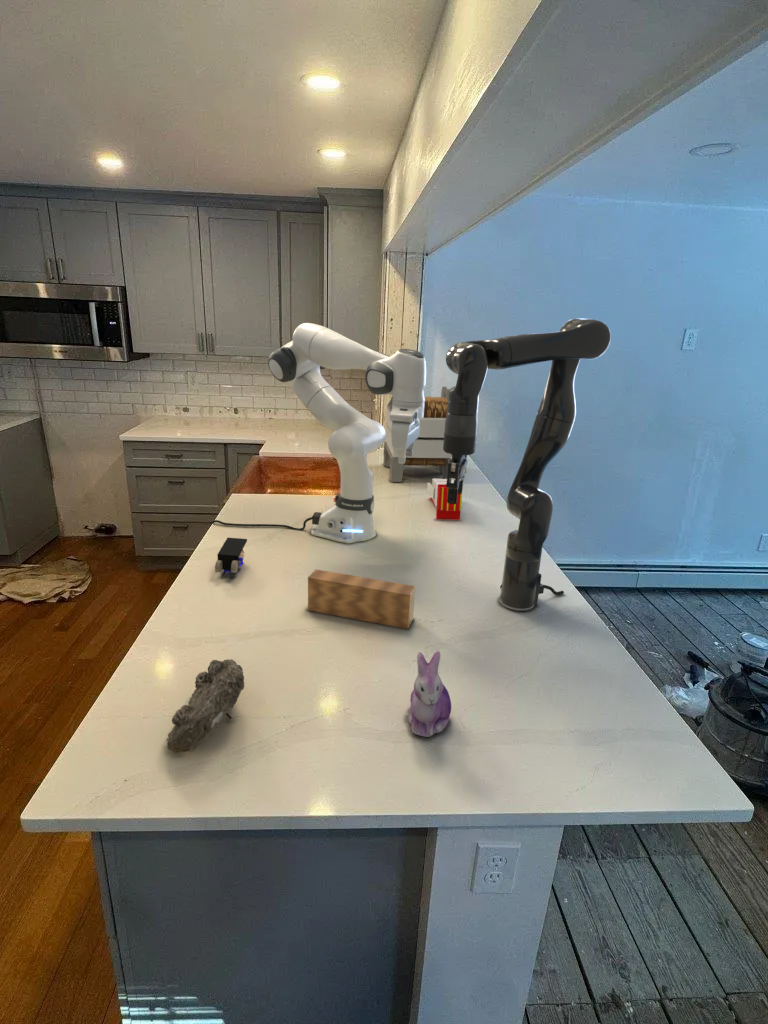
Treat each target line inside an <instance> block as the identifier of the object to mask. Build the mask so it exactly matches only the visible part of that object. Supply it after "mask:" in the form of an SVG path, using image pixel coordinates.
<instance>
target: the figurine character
mask: <svg viewBox="0 0 768 1024" xmlns="http://www.w3.org/2000/svg"><path fill="white" fill-rule="evenodd" d="M247 542H248V538H240V537H226V539H225V541H224V543H223V544H222V546H221V547H220V549H219V551H218V552H217V560H216V562H215V564H214V572H215V573H221V577H222V578H224V577H225V576H226V574H227V573H230V574H231V573H232V574H231V578H234V577H235V575H236V573H237V572H239V571H240V567H242V566H243V565H244V564H245V562H244V558H245V551H244V547H245V546H246V544H247Z"/></svg>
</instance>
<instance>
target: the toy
mask: <svg viewBox="0 0 768 1024" xmlns="http://www.w3.org/2000/svg"><path fill="white" fill-rule="evenodd" d="M431 480H432V481H431V483H430V482H427V487H426V493H427V495H429V500H430V501H431V502H432V503H433V504H434V506H435V508H436V510H435V511H436V513H435V520H442V521H443V520H445V521H447V520H448V521H461V511H462V502H463V501H462V500H463V499H462V498H463V492H462V493H461V494H458V495H457V503H456V504H449V503H447V498H448V488H446V484H447V479H445V478H432V479H431ZM451 483H454V480H451Z"/></svg>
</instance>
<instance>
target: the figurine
mask: <svg viewBox="0 0 768 1024" xmlns="http://www.w3.org/2000/svg"><path fill="white" fill-rule="evenodd" d="M440 662H441V652H440V651H439V650H437V651H435V652H434V653H433V654H432V657H431V659H430V661H429V662H427V659H426V658H425V656H424V654H423V653H422V652H418V653H417V656H416V664H417V675H416V678H415V679H414V682H413V690H412V691H411V694H410V698H409V699H410V701H409V702H410V707H409V711H408V716H407V717H408V719H407V720H408V723H409V725H410V727H411V732H412V734H414V735H416V736H421V737H425V738H428V737H429V738H430V737H433V736H434V734H439V733H441V732H442V731H444V729H445V728H446V727H447V725H448V724H449V720H450V716H451V713H452V701H451V697H450V693H449V691H448V689H447V688H446V686H445V684H444V683H443V681H442V678H441V676H440V674H439V667H440Z"/></svg>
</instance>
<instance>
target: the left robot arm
mask: <svg viewBox="0 0 768 1024" xmlns="http://www.w3.org/2000/svg"><path fill="white" fill-rule="evenodd" d="M267 361H268V362H267V365H268V369H269V371H270V373H271V375H272V376H273V377H274V378H275V380H277V381H279V382H281V383H287V382H292V383H291V386H292V390H293V391H294V393H295V395H296V396H297V398H298V400H299V401H300V402H301V404H303V406H304V407H305V408H306V409H307V411H308V412H309V413H310V414H311V415H312V416H313V417H314V418H315V419H316V421H318V423H319V424H320V425H321V426H323V427H324V428H327V429H329V430H331V431H333V432H332V433H331V434H330V435H329V437H328V441H327V447H328V450H329V451H328V452H329V453H330V454H331V456H332V458H334V459H335V460H336V462H337V465H338V469H339V476H340V480H339V481H340V488H339V489H340V490H339V491H338V492H337V494H336V495H335V496H334V497H333V502H334V504H333V505H331V506H329V507H328V508H326V509H325V510H323V512H319V511H318V512H317V511H315V512H313V514H312V516H310V517H308V518H306V519H305V520H304V521H303V523H302V527H301V528H297V527H294V526H291V525H287V524H277V523H275V524H274V523H233V522H232V523H231V522H224V521H222V520H218V519H214V520H212V521H211V522H210V525H213V524H216V523H218V524H220V525H223V526H232V527H274V528H275V527H276V528H287V529H291V530H294V531H295V530H296V531H303V530H305V529H306V524H307V523H308V522H309V521H311V525H313V526H312V528H311V530H310V533H311V536H315V537H319V538H323V539H326V540H330V541H336V542H339V543H343V544H352V543H357V542H365V541H368V540H372V539H373V538H375V537H376V535H377V532H376V528H375V523H374V513H373V512H374V509H375V496H374V473H373V471H372V470H371V469H370V468H369V464H368V461H367V460H368V459H367V458H368V454H371V453H373V452H376V451H377V450H378V449H380V448H381V446H383V445H384V442H386V441H385V438H386V428H385V427H384V426H383V424H381V423H380V422H378V421H376V420H374V419H371V418H370V417H368V416H366V415H365V414H363V413H362V412H360V411H359V410H357V409H356V408H355V407H353V406H351V405H350V404H349V403H348V402H347V401H346V400H345V399H344V398H343V397H342V396H341V395H340V393H338V391H336V389H334V388H333V387H332V385H331V384H330V383H329V382H327V380H325V378H324V377H323V376H322V374H321V370H325V369H329V370H363V371H365V373H364V381H365V386H366V388H367V389H368V391H369V392H370V393H371V394H373V395H376V396H388V395H391V397H392V396H393V403H392V410H391V413H390V421H392V424H391V441H392V448H393V450H397V453H398V463H399V464H404V463H405V462H406V457H405V452H406V456H412V455H413V448H414V444H415V440H416V439H417V438H418V437H419V434H420V419H422V418H424V404H425V398H424V397H425V388H426V384H427V362H426V357H425V355H424V354H423V353H422V352H420V351H418V350H415V349H410V348H400V349H397V350H396V351H395V352H394V353H393V354H392V355H388V354H385V353H383V352H380V351H377V350H376V349H372V348H370V347H367V346H366V345H363V344H361V343H359V342H356V341H355V340H353V339H351V338H348V337H347V336H344V335H343V334H340V333H339V332H336V331H335V330H333V329H331V328H328V327H326V326H323V325H320V324H317V323H312V322H304V323H301V324H299V325H298V326H297V327H296V328H295V329H294V331H293V334H292V340H291V341H289V342H287V343H286V344H284V345H283V346H281V347H279V348H276V349H275V350H274V351H272V352H271V353H270V355H269V356H268V360H267ZM406 449H407V450H406Z"/></svg>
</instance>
